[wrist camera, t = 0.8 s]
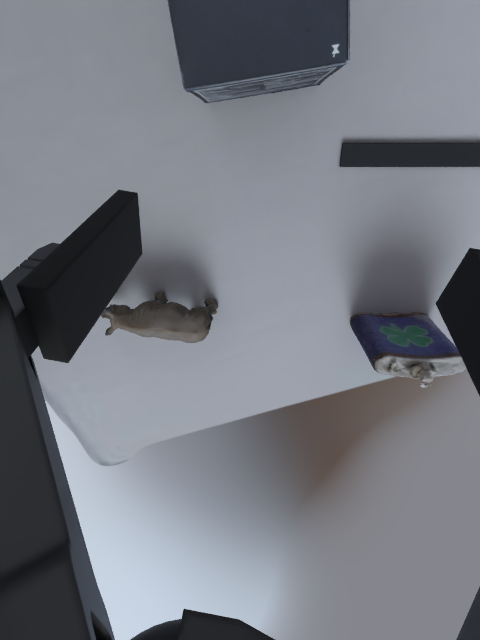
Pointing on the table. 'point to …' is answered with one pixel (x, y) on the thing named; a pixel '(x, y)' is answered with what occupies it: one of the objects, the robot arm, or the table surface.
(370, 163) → the bay
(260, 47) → the small box
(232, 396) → the table surface
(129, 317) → the rhino figurine
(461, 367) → the flask
